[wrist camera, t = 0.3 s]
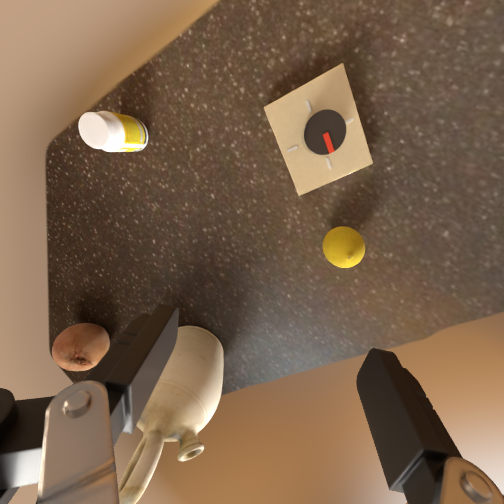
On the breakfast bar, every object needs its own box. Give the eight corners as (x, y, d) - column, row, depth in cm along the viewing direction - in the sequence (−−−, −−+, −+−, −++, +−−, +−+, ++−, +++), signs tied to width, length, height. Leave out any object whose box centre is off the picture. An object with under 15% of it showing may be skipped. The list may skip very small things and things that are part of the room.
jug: (246, 356, 51) (213, 526, 28) (195, 385, 56) (130, 547, 33) (195, 304, 48) (110, 447, 25) (145, 339, 53) (36, 485, 30)
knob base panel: (265, 111, 34) (263, 107, 31) (338, 70, 31) (343, 62, 28) (298, 192, 37) (299, 196, 34) (366, 162, 35) (373, 163, 32)
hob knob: (296, 126, 31) (297, 122, 26) (330, 109, 30) (339, 100, 25) (308, 160, 33) (312, 162, 27) (341, 144, 31) (352, 143, 26)
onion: (120, 319, 56) (111, 348, 47) (104, 354, 57) (93, 388, 48) (71, 307, 52) (52, 337, 43) (55, 345, 53) (34, 381, 44)
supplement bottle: (130, 109, 36) (87, 97, 28) (155, 134, 37) (120, 130, 29) (113, 134, 38) (68, 130, 30) (137, 158, 39) (99, 160, 31)
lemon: (325, 216, 38) (334, 232, 31) (361, 224, 38) (379, 242, 31) (315, 249, 40) (321, 271, 33) (349, 257, 40) (362, 281, 33)
